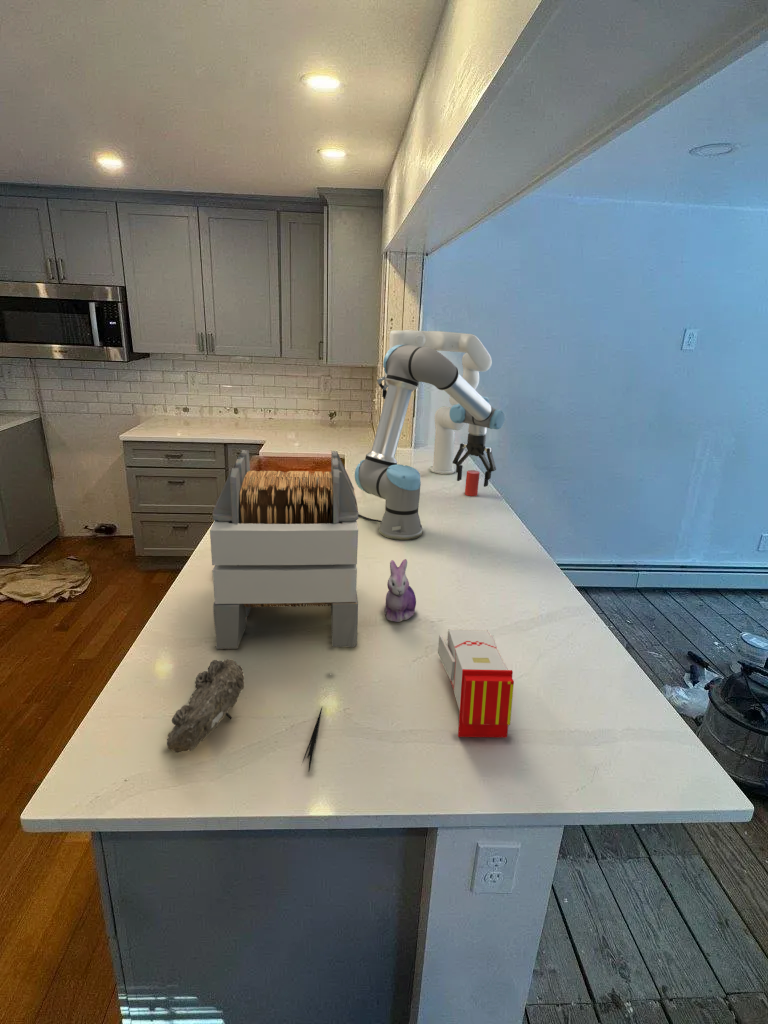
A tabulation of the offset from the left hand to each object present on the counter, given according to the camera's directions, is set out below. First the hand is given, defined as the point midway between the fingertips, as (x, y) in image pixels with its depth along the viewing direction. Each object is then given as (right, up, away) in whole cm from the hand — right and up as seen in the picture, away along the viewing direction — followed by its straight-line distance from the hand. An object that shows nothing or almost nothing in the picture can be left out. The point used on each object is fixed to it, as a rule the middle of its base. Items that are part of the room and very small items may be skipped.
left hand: (472, 483), depth 245 cm
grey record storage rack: (-62, -38, -99) cm, 123 cm away
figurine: (-34, -39, -97) cm, 110 cm away
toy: (-20, -50, -126) cm, 137 cm away
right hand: (-33, +39, +11) cm, 52 cm away
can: (0, -5, +2) cm, 5 cm away
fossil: (-71, -52, -137) cm, 162 cm away
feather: (-51, -52, -136) cm, 154 cm away
